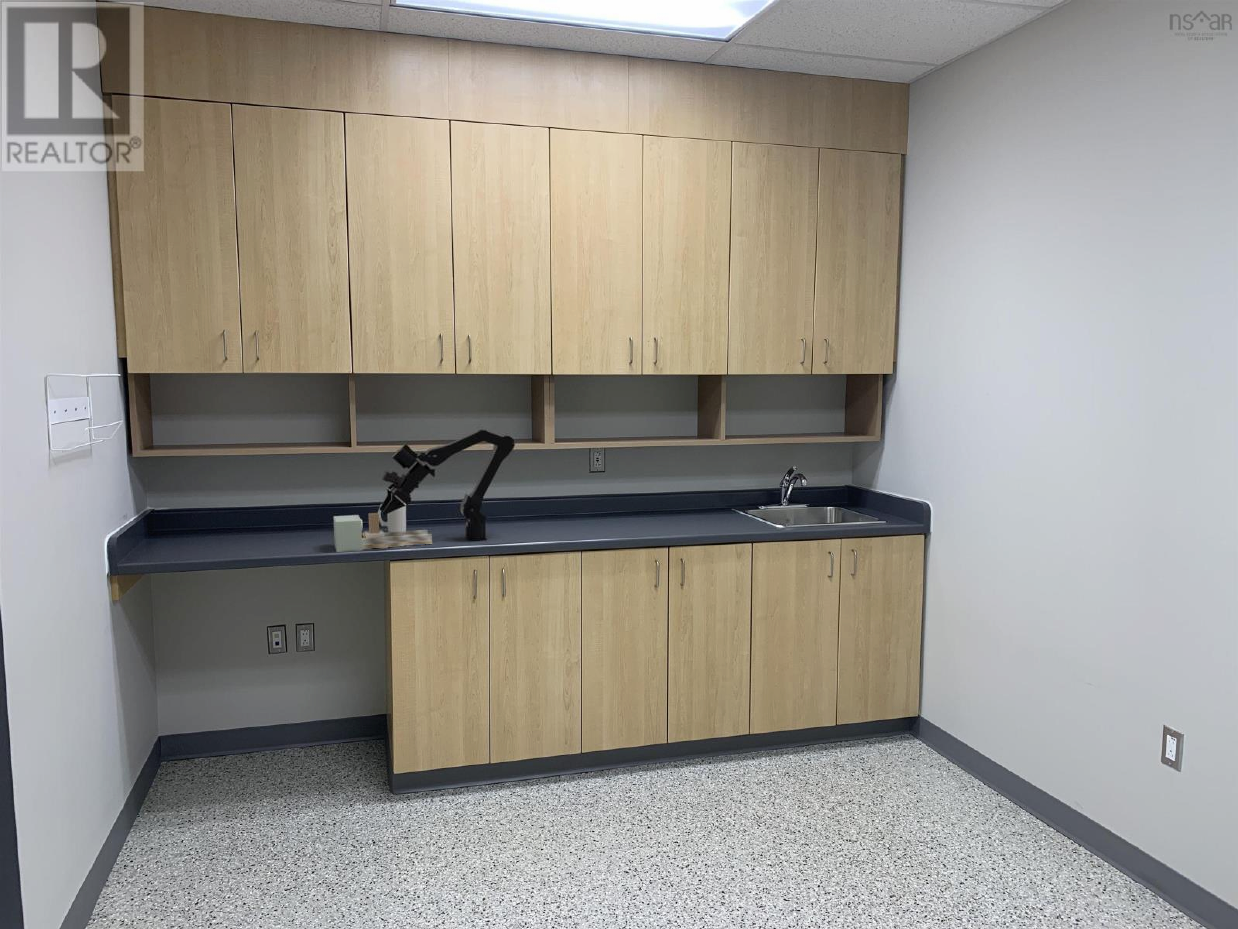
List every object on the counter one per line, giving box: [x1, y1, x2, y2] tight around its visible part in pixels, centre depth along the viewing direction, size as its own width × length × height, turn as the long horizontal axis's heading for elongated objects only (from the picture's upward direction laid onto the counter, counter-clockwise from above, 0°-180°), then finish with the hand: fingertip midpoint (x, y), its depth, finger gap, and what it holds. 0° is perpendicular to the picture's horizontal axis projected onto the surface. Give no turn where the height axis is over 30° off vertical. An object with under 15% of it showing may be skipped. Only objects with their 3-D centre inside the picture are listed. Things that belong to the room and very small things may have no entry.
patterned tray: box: [361, 529, 433, 551], centre depth 285 cm, size 23×10×4 cm, turn 112°
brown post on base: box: [363, 512, 385, 538], centre depth 282 cm, size 6×6×9 cm
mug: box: [377, 503, 407, 532], centre depth 304 cm, size 10×7×12 cm, turn 102°
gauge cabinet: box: [333, 514, 363, 553], centre depth 279 cm, size 8×12×10 cm
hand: (381, 512), depth 282 cm, fingers open, 9 cm apart
